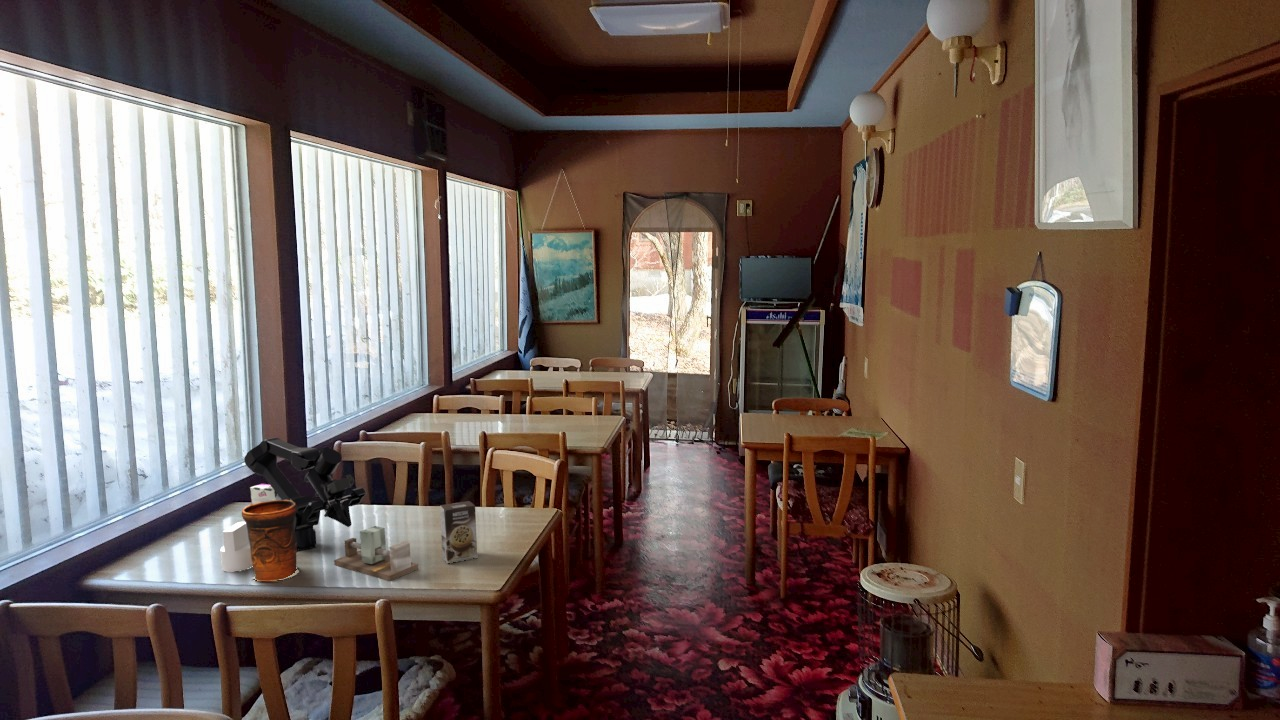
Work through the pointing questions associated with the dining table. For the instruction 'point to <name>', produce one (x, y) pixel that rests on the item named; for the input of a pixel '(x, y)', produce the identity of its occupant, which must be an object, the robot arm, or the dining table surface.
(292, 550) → the vessel
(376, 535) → the sleeve
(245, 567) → the base with upright slab
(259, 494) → the candy bar box
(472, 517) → the coffee box
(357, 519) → the dining table surface
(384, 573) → the rod stand
